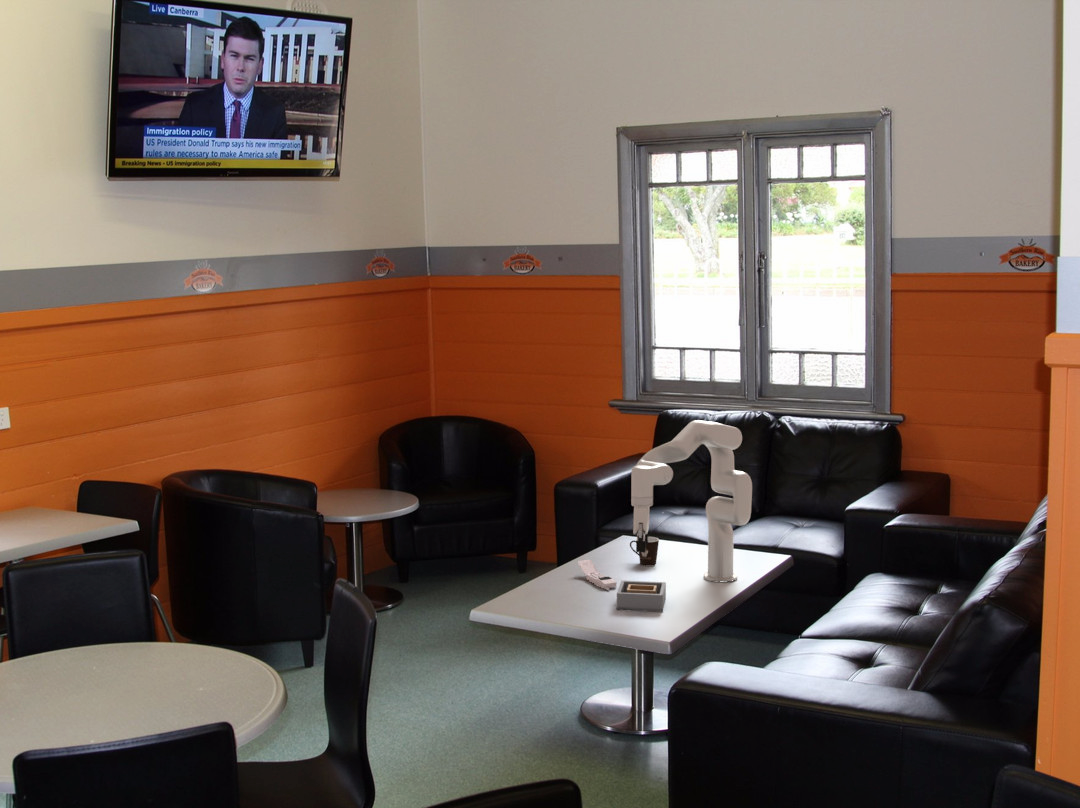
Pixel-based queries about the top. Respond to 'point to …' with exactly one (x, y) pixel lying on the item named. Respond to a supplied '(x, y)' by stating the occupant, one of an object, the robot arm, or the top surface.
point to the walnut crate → (642, 589)
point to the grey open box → (641, 597)
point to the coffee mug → (648, 552)
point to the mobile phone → (596, 575)
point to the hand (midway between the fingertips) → (642, 548)
